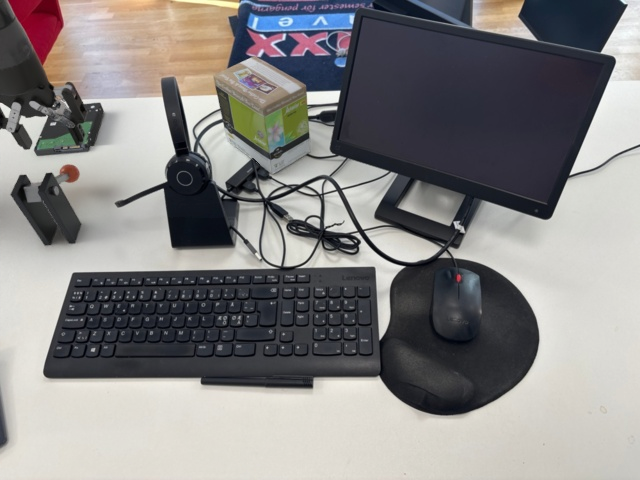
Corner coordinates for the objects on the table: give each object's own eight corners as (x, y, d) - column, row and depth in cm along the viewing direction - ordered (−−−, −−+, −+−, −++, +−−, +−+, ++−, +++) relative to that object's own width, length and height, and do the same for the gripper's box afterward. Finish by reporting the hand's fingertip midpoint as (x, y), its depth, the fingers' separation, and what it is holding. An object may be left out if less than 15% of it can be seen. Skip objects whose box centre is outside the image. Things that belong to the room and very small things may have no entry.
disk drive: (56, 117, 111) (38, 161, 101) (51, 106, 109) (32, 150, 99) (105, 112, 111) (92, 156, 102) (100, 101, 109) (87, 144, 99)
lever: (66, 180, 92) (62, 163, 91) (84, 179, 92) (80, 161, 91) (24, 205, 78) (18, 184, 77) (45, 203, 78) (40, 183, 77)
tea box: (312, 151, 100) (308, 84, 89) (272, 176, 96) (262, 108, 84) (264, 119, 107) (254, 52, 96) (225, 140, 103) (210, 74, 92)
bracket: (50, 219, 90) (15, 163, 81) (96, 216, 91) (66, 159, 81) (33, 264, 84) (-8, 208, 74) (83, 260, 84) (48, 204, 74)
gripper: (62, 36, 76) (102, 127, 88) (-36, 44, 76) (18, 133, 88) (47, 63, 71) (92, 156, 83) (-57, 71, 71) (3, 162, 83)
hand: (54, 144), depth 85 cm, fingers open, 8 cm apart
